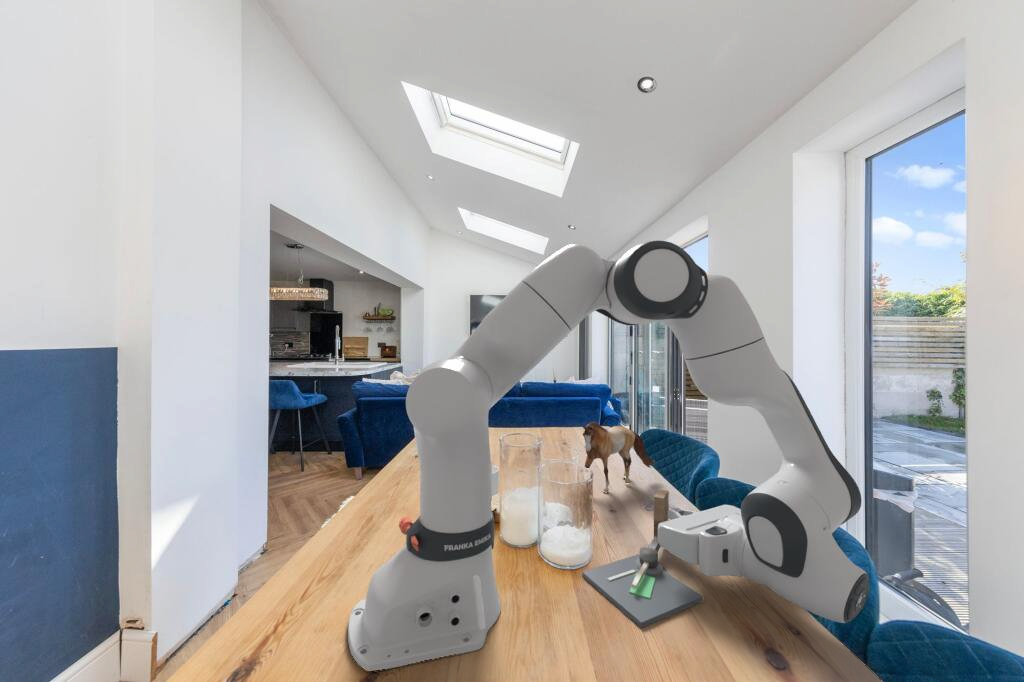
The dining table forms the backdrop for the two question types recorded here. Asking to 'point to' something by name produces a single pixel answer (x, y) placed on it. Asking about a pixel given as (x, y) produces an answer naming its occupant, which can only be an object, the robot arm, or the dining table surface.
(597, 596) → the dining table surface
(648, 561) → the lever with brown handle
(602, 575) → the white-striped grey panel
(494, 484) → the white cup
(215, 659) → the dining table surface
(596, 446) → the horse figurine
